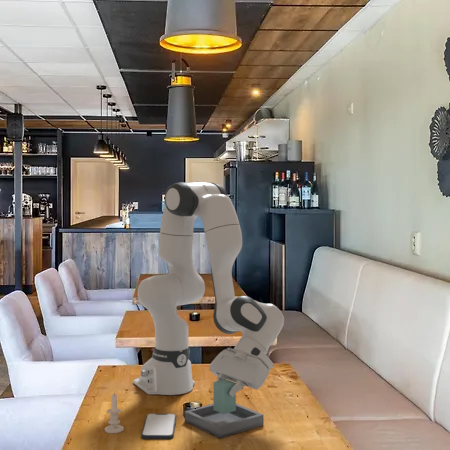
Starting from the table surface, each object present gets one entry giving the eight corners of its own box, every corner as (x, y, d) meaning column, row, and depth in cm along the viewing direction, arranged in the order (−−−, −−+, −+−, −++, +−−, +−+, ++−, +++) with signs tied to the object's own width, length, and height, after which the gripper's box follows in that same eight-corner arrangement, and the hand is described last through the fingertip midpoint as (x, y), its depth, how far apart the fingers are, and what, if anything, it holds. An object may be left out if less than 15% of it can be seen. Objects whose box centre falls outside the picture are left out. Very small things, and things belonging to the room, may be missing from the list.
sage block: (213, 409, 172) (213, 382, 172) (225, 406, 175) (225, 379, 174) (223, 414, 168) (223, 385, 168) (235, 410, 171) (235, 382, 171)
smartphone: (173, 441, 160) (176, 418, 176) (173, 435, 160) (176, 413, 176) (140, 441, 160) (146, 418, 176) (140, 435, 160) (146, 413, 176)
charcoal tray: (184, 421, 173) (184, 411, 173) (227, 409, 183) (227, 399, 183) (219, 438, 161) (219, 427, 160) (263, 425, 171) (263, 414, 171)
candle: (122, 425, 169) (122, 389, 169) (125, 432, 164) (125, 394, 164) (103, 427, 168) (103, 390, 167) (105, 434, 163) (105, 396, 162)
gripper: (220, 340, 183) (194, 378, 177) (266, 353, 168) (240, 395, 162) (231, 352, 186) (206, 390, 180) (278, 366, 171) (252, 408, 165)
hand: (223, 392), depth 171 cm, fingers closed on sage block, 4 cm apart
